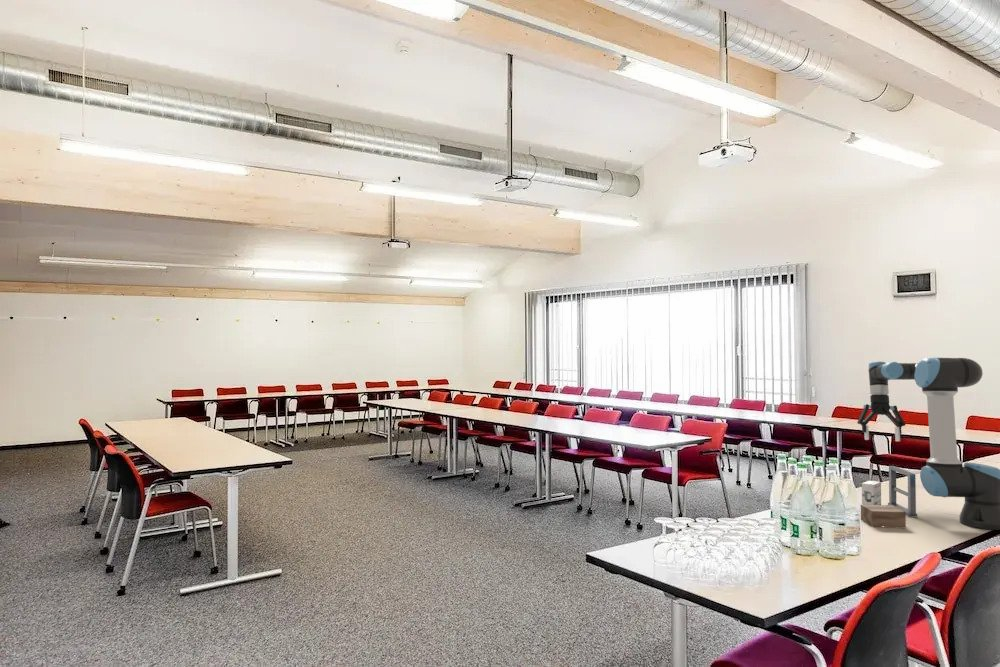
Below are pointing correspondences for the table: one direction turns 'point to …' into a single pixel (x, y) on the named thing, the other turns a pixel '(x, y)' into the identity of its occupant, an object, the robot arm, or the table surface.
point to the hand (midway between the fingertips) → (882, 440)
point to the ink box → (871, 493)
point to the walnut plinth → (883, 515)
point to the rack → (911, 490)
